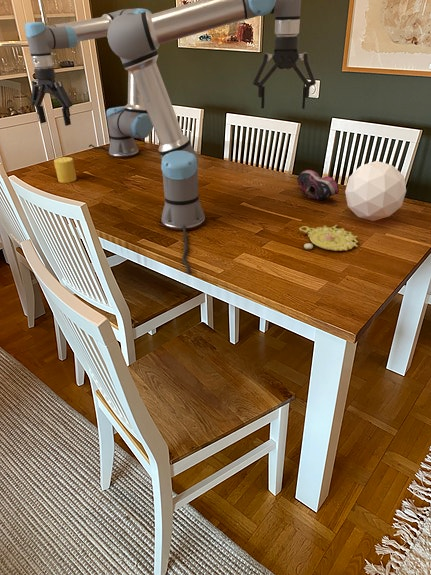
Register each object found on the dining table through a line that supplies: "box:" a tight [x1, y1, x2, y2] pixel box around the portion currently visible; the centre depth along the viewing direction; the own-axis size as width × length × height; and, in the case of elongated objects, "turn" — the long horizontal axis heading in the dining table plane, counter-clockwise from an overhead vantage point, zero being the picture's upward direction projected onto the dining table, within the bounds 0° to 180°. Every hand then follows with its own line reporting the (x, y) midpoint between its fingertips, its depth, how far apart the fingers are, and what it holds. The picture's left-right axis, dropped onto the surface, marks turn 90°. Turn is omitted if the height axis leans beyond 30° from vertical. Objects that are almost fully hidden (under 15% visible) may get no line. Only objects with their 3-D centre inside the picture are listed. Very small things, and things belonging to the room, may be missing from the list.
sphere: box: [344, 160, 407, 222], centre depth 150 cm, size 19×20×20 cm
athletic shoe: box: [294, 169, 340, 201], centre depth 171 cm, size 11×22×12 cm
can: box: [53, 156, 77, 184], centre depth 196 cm, size 8×8×9 cm
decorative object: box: [299, 224, 359, 252], centre depth 141 cm, size 21×2×20 cm
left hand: (55, 123), depth 185 cm, fingers open, 13 cm apart
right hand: (282, 107), depth 149 cm, fingers open, 13 cm apart
